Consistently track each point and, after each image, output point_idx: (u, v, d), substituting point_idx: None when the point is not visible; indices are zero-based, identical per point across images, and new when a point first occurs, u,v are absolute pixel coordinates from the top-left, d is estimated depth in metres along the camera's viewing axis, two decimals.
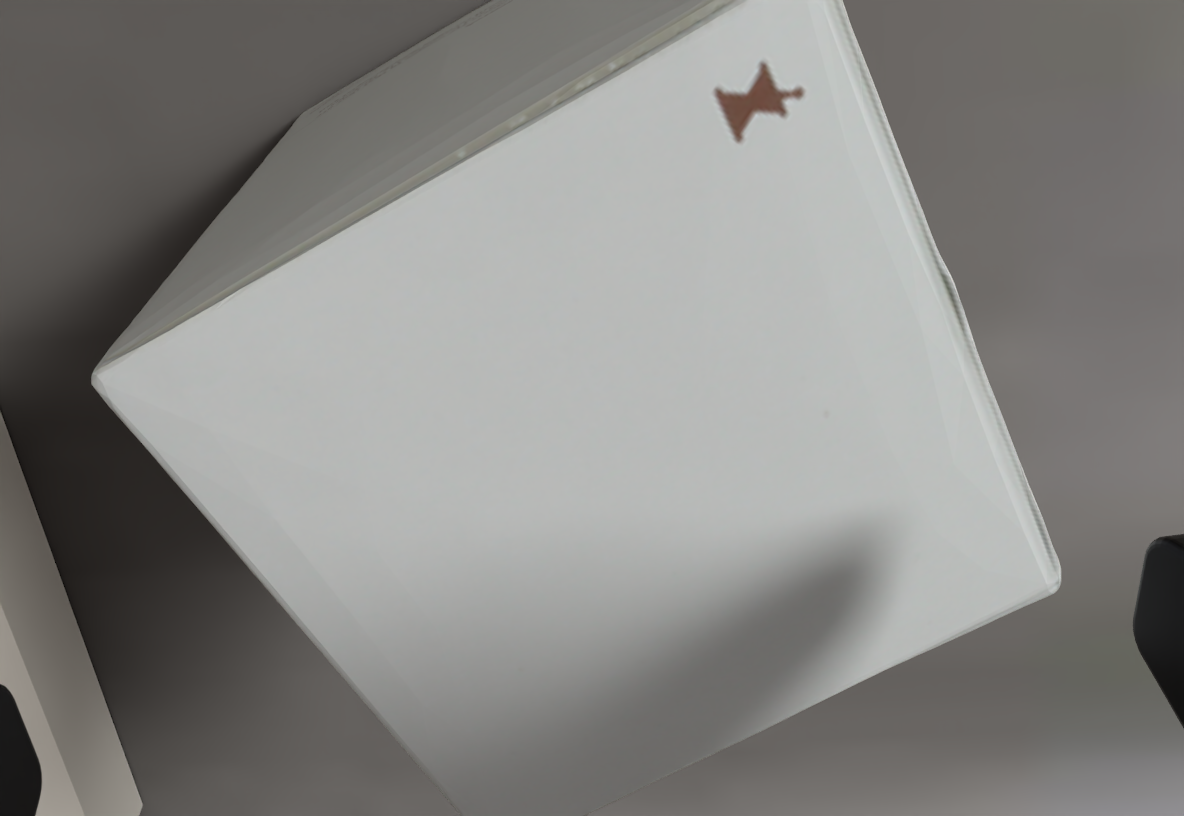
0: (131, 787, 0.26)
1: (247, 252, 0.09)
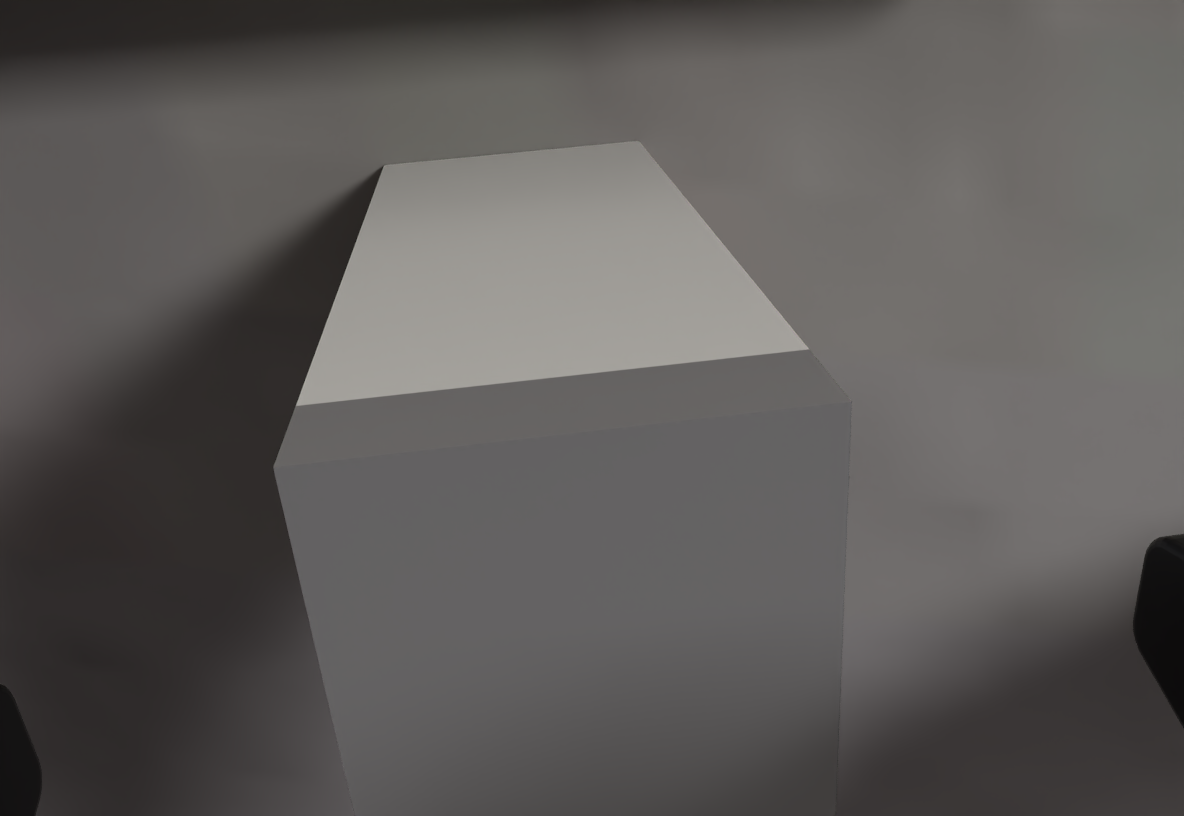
0: None
1: None
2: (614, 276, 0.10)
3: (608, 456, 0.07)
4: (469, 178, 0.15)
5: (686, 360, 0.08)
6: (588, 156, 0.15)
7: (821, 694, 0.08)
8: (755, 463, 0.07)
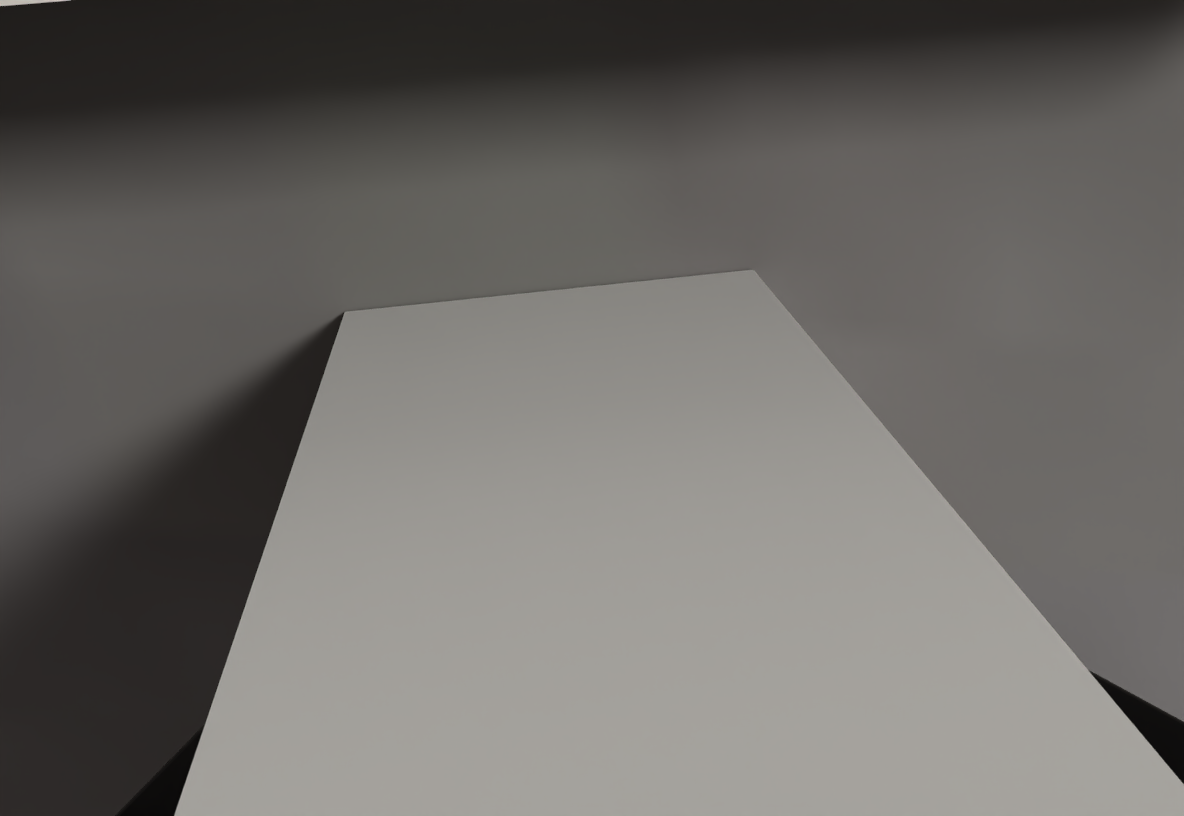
0: None
1: None
2: (859, 802, 0.04)
3: None
4: (483, 357, 0.09)
5: None
6: (679, 306, 0.09)
7: None
8: None
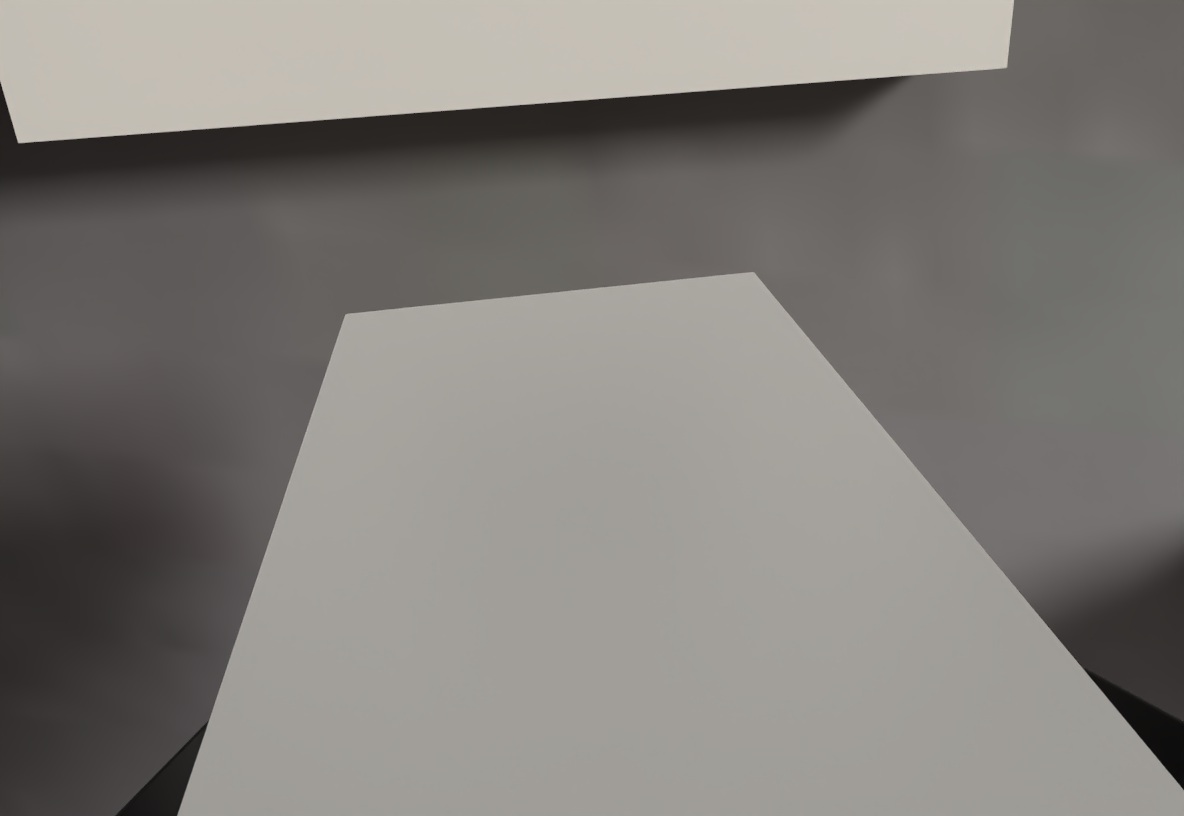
0: None
1: None
2: (858, 806, 0.04)
3: None
4: (484, 360, 0.09)
5: None
6: (679, 308, 0.09)
7: None
8: None
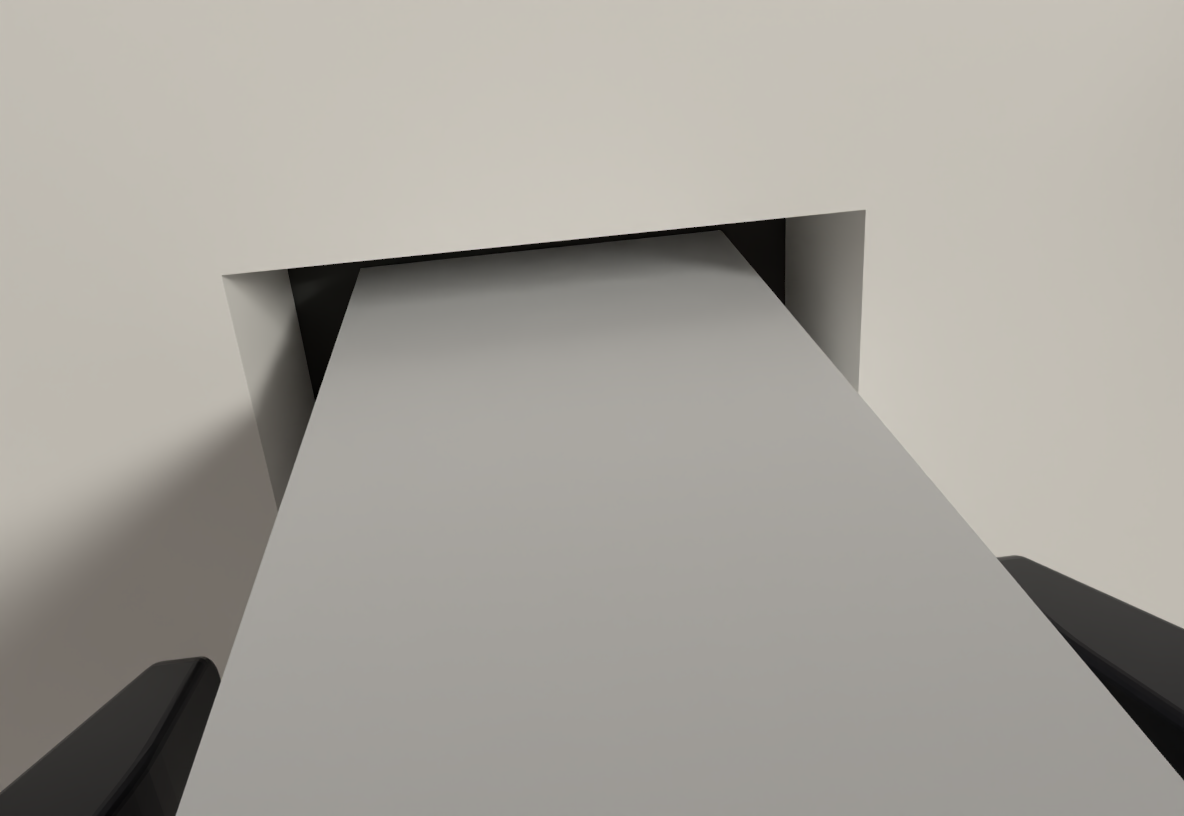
0: None
1: None
2: (764, 586, 0.05)
3: None
4: (483, 301, 0.10)
5: None
6: (654, 259, 0.11)
7: None
8: None
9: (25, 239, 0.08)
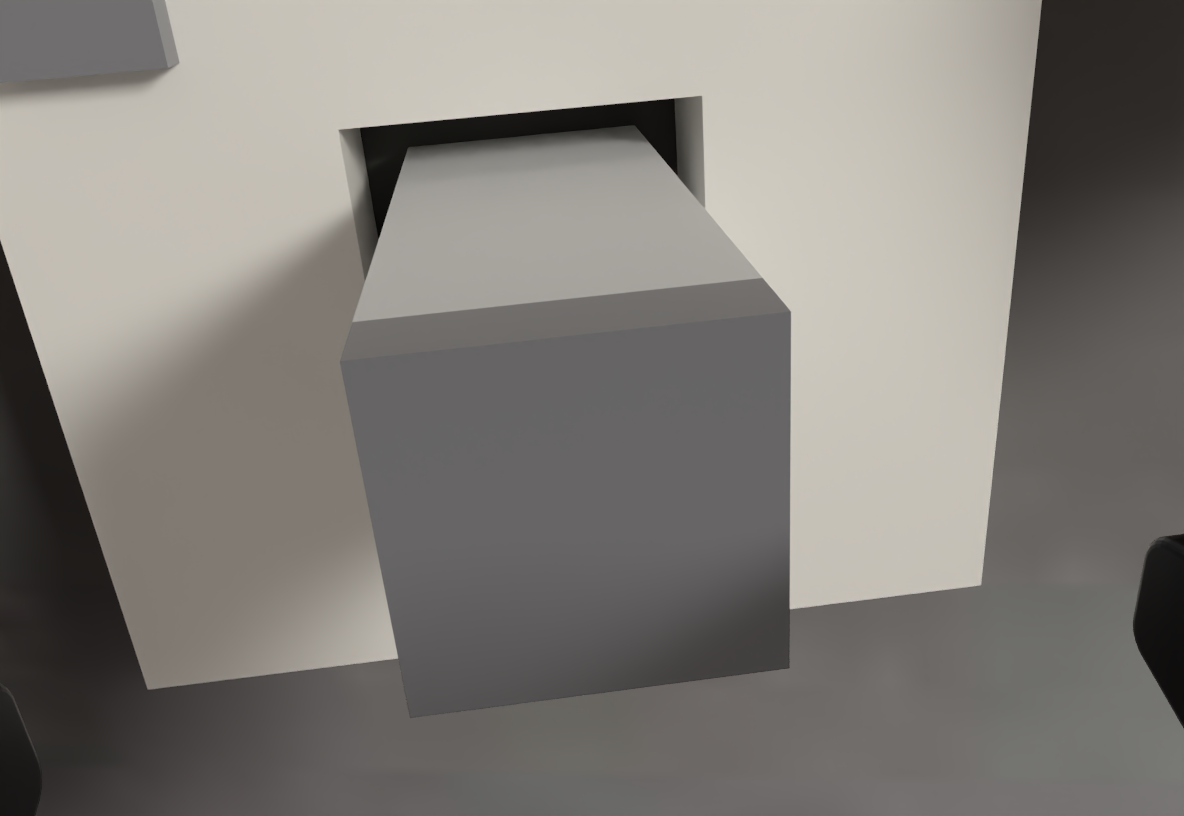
0: None
1: None
2: (608, 228, 0.12)
3: (600, 354, 0.09)
4: (484, 157, 0.17)
5: (664, 286, 0.10)
6: (589, 138, 0.17)
7: (774, 557, 0.10)
8: (716, 361, 0.09)
9: (232, 107, 0.15)
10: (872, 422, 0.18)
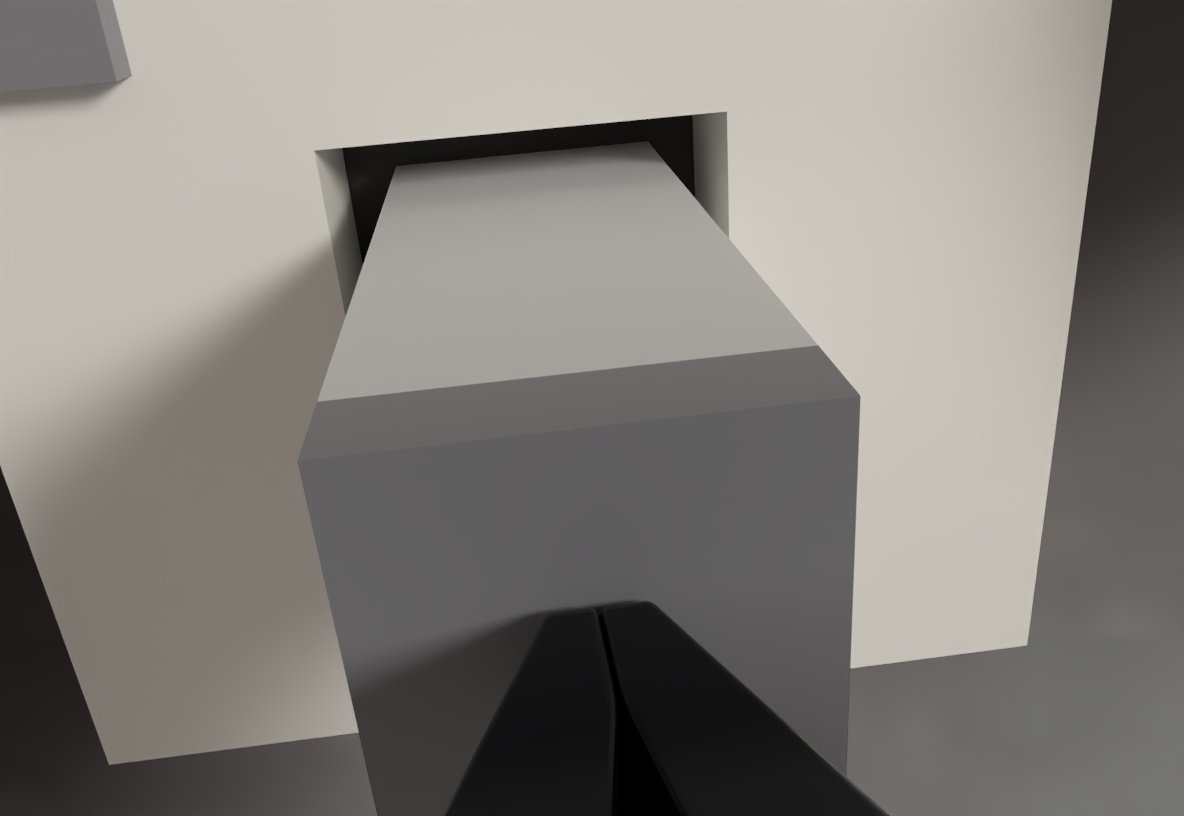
0: None
1: None
2: (625, 274, 0.10)
3: (623, 449, 0.07)
4: (480, 179, 0.15)
5: (697, 355, 0.08)
6: (597, 156, 0.16)
7: (831, 683, 0.08)
8: (766, 456, 0.07)
9: (193, 125, 0.13)
10: (912, 470, 0.16)
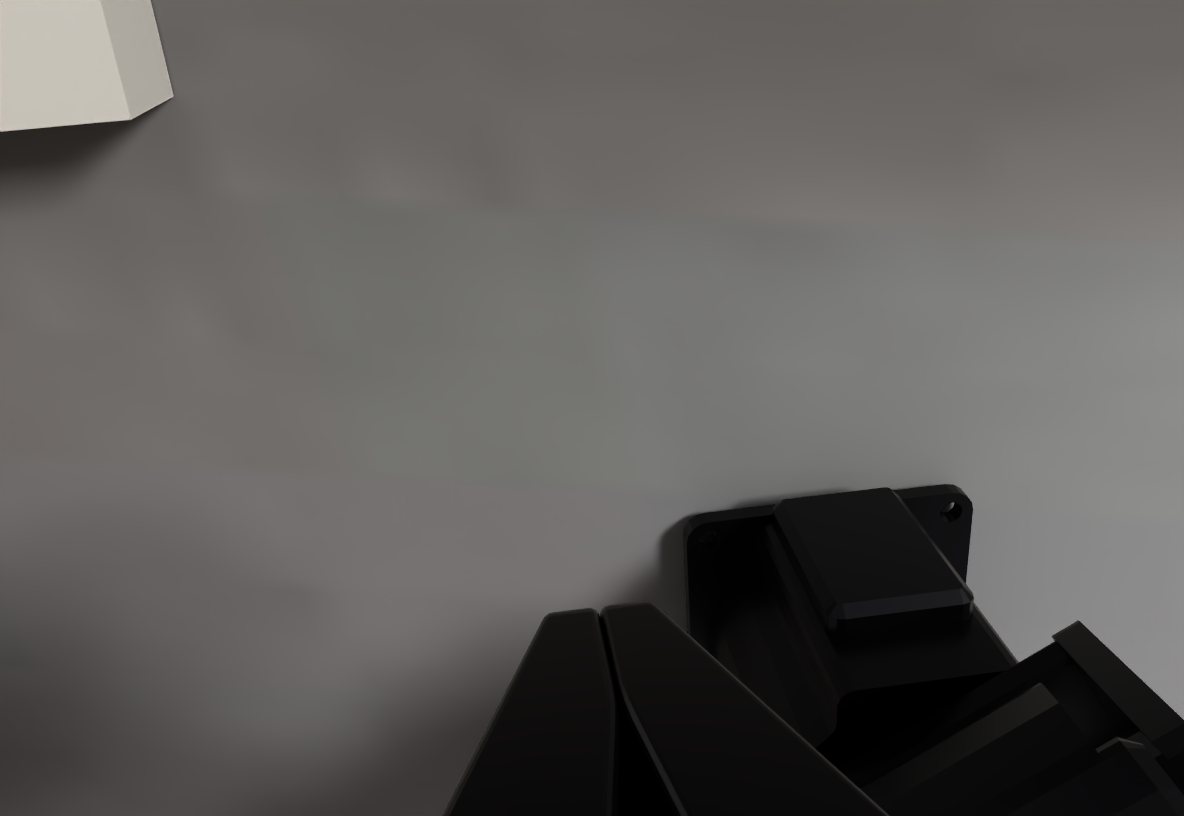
0: (157, 46, 0.18)
1: None
2: None
3: None
4: None
5: None
6: None
7: None
8: None
9: None
10: None
